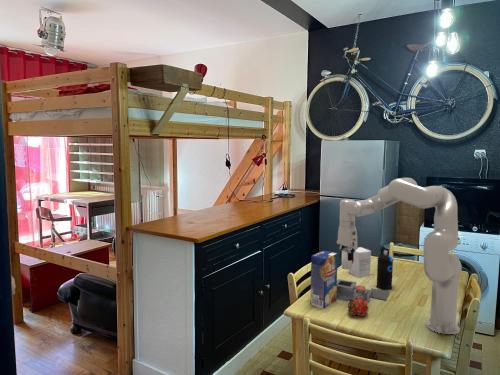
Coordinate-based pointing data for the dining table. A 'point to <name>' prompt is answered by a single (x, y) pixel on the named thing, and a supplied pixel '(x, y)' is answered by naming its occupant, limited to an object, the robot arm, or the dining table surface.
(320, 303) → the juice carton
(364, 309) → the dragon fruit
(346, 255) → the cylinder
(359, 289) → the plunger
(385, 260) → the aerosol can
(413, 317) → the dining table surface
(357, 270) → the supplement box
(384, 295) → the mat
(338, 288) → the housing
